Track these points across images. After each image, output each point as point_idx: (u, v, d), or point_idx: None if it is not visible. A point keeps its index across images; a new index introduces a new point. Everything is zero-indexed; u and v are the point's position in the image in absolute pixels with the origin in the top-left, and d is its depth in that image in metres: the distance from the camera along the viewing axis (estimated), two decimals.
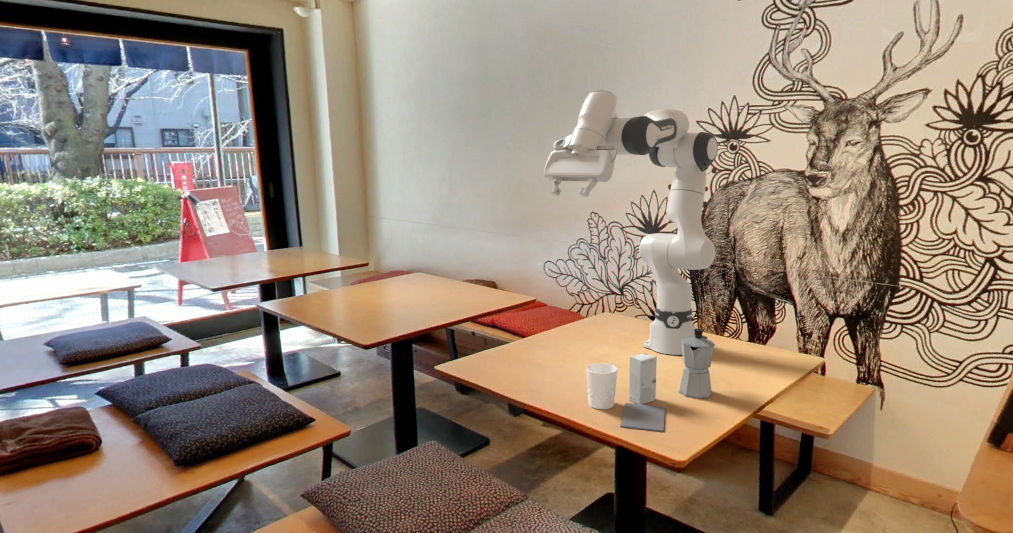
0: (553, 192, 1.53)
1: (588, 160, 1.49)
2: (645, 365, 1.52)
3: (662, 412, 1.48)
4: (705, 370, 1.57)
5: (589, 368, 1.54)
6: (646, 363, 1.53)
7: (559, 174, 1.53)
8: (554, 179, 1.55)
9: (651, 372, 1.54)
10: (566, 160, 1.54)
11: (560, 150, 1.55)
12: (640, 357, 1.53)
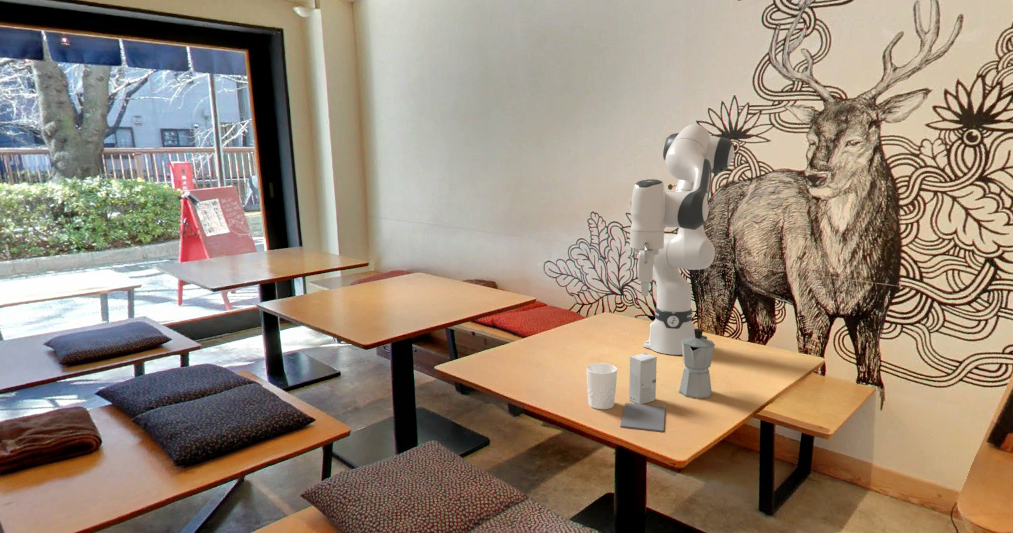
0: None
1: None
2: (645, 365, 1.52)
3: (662, 412, 1.48)
4: (705, 370, 1.57)
5: (589, 368, 1.54)
6: (646, 363, 1.53)
7: None
8: None
9: (651, 372, 1.54)
10: None
11: None
12: (640, 357, 1.53)
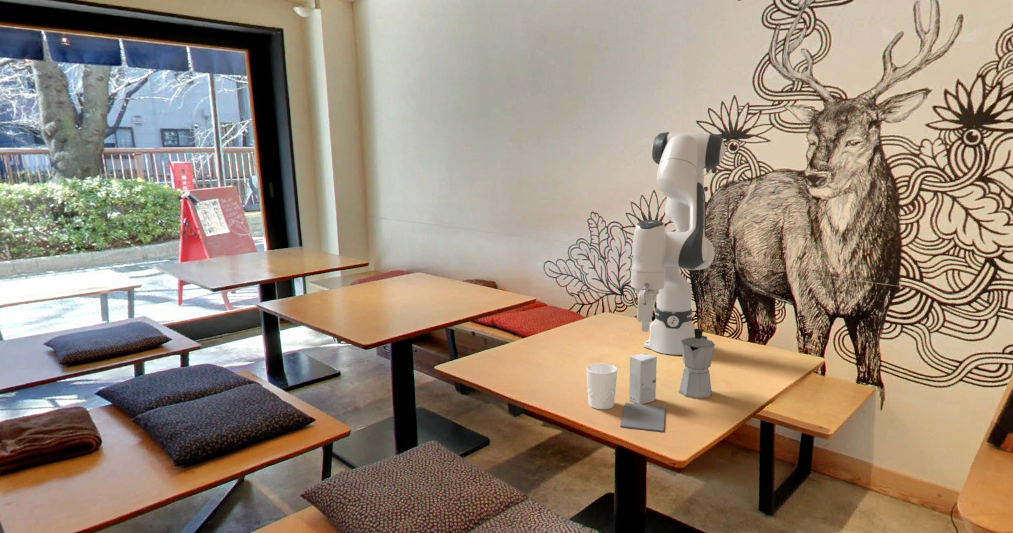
0: None
1: None
2: (645, 365, 1.52)
3: (662, 412, 1.48)
4: (705, 370, 1.57)
5: (589, 368, 1.54)
6: (646, 363, 1.53)
7: None
8: None
9: (651, 372, 1.54)
10: None
11: None
12: (640, 357, 1.53)
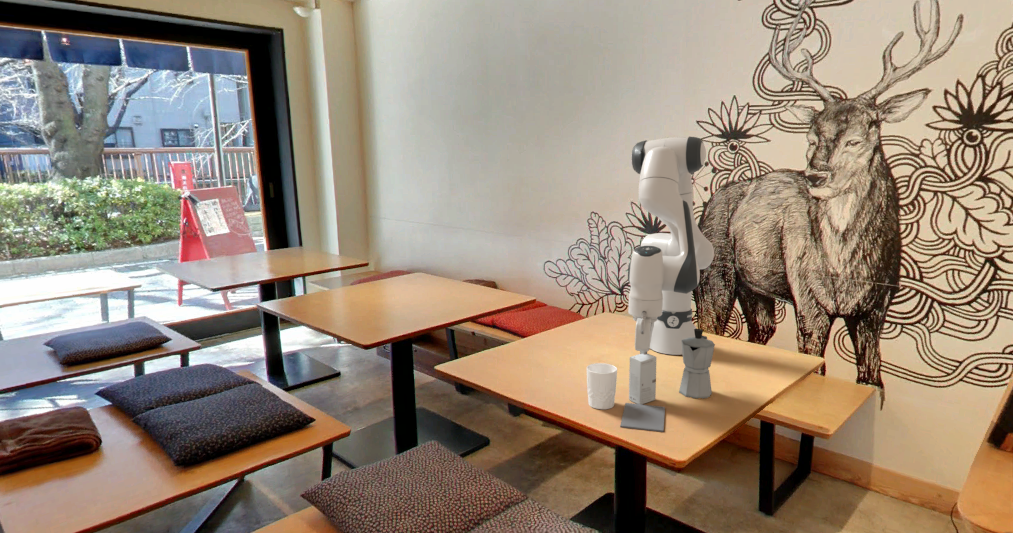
0: None
1: None
2: (645, 366, 1.52)
3: (662, 412, 1.48)
4: (705, 370, 1.57)
5: (589, 368, 1.54)
6: (646, 364, 1.52)
7: None
8: None
9: (650, 372, 1.53)
10: None
11: None
12: (640, 358, 1.53)
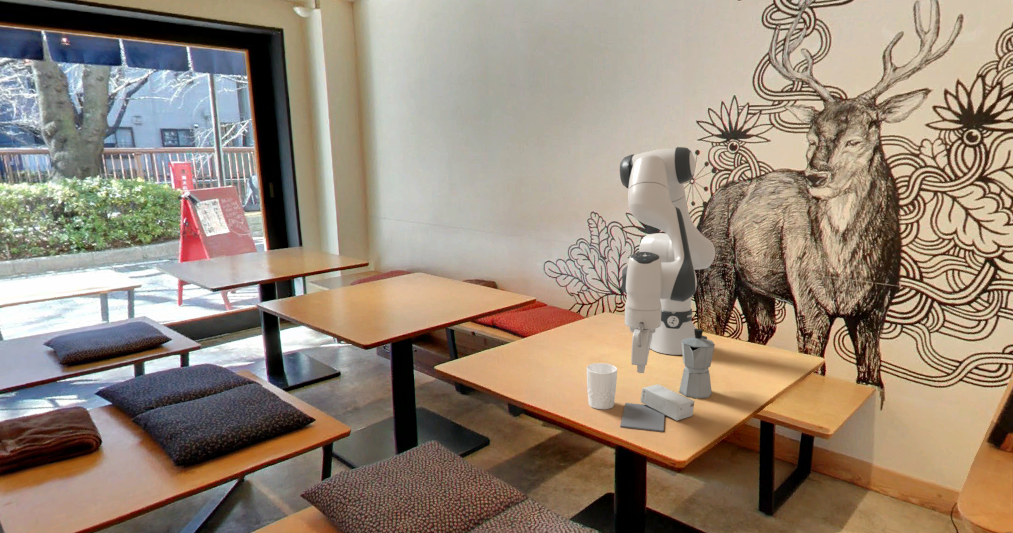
0: None
1: None
2: None
3: None
4: (705, 370, 1.57)
5: (589, 368, 1.54)
6: None
7: None
8: None
9: None
10: None
11: None
12: (682, 413, 1.43)
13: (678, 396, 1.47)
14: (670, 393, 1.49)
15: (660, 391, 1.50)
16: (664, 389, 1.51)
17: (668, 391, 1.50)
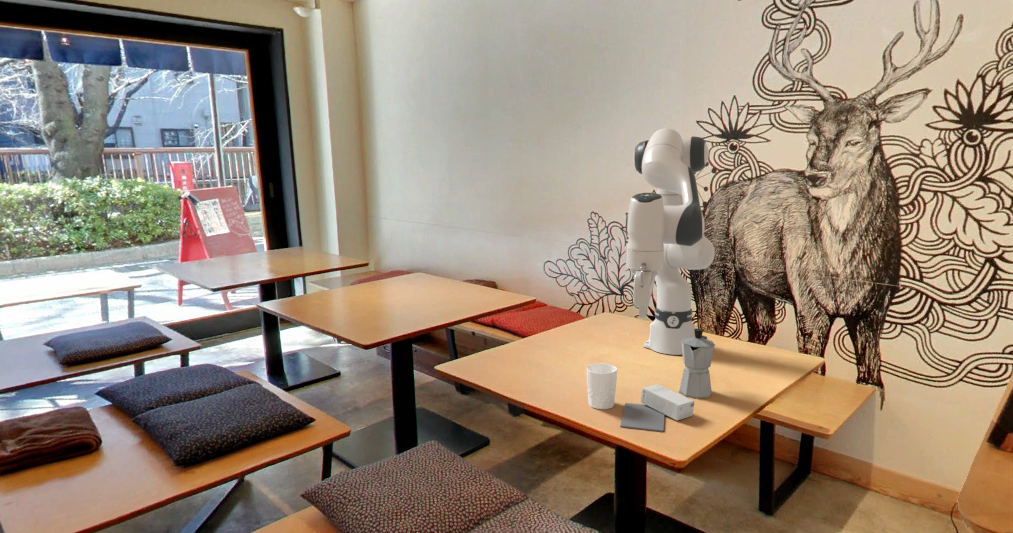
0: None
1: None
2: None
3: None
4: (705, 370, 1.57)
5: (589, 368, 1.54)
6: None
7: None
8: None
9: None
10: None
11: None
12: (682, 413, 1.43)
13: (678, 396, 1.47)
14: (670, 393, 1.49)
15: (660, 391, 1.50)
16: (664, 389, 1.51)
17: (668, 391, 1.50)
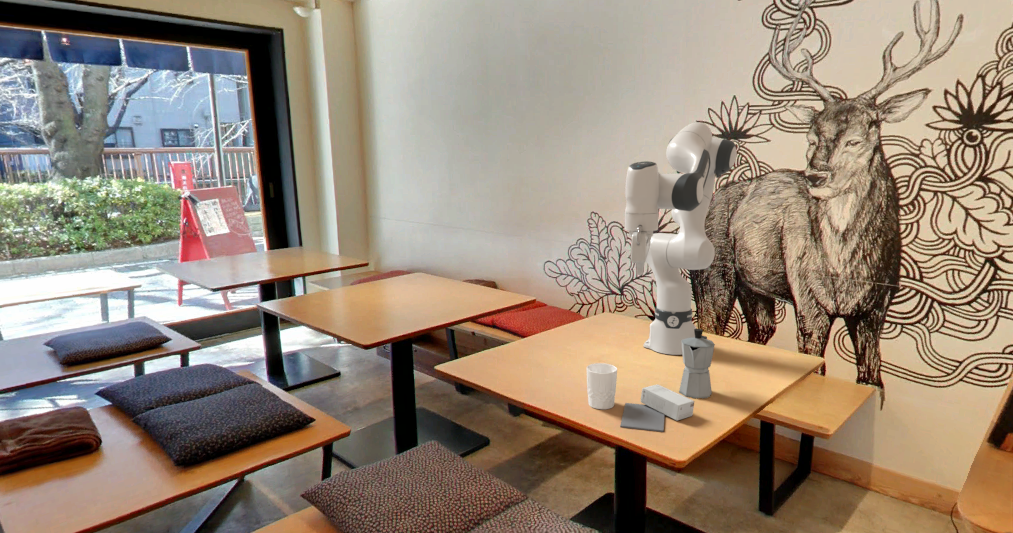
0: None
1: None
2: None
3: None
4: (705, 370, 1.57)
5: (589, 368, 1.54)
6: None
7: None
8: None
9: None
10: None
11: None
12: (682, 413, 1.43)
13: (678, 396, 1.47)
14: (670, 393, 1.49)
15: (660, 391, 1.50)
16: (664, 389, 1.51)
17: (668, 391, 1.50)
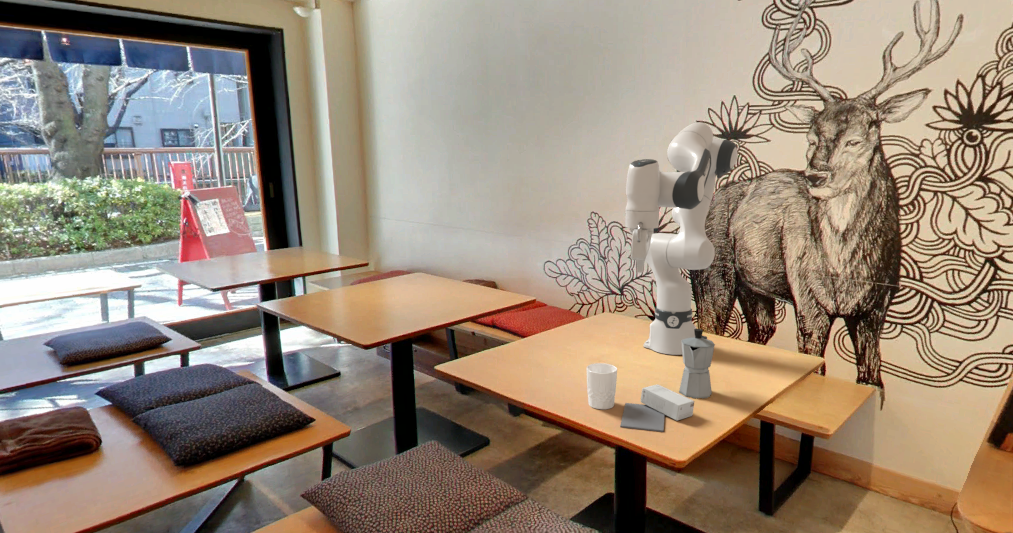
0: None
1: None
2: None
3: None
4: (705, 370, 1.57)
5: (589, 368, 1.54)
6: None
7: None
8: None
9: None
10: None
11: None
12: (682, 413, 1.43)
13: (678, 396, 1.47)
14: (670, 393, 1.49)
15: (660, 391, 1.50)
16: (664, 389, 1.51)
17: (668, 391, 1.50)
